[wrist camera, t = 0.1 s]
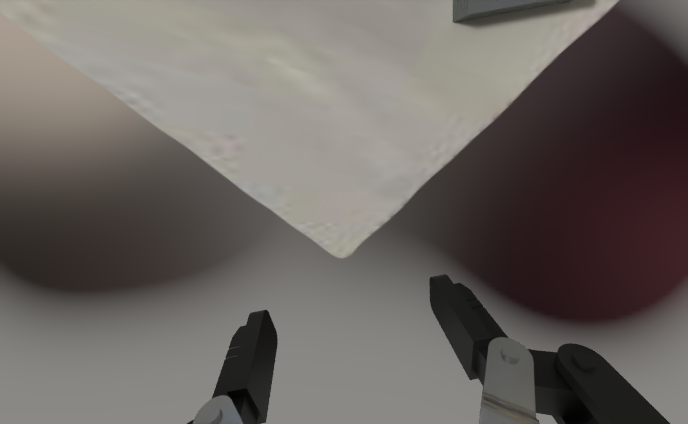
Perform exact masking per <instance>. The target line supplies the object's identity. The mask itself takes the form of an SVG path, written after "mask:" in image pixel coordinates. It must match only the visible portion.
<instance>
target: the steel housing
mask: <svg viewBox="0 0 688 424" xmlns="http://www.w3.org/2000/svg"><path fill="white" fill-rule="evenodd" d="M568 1H572V0H453V22H456V21H462V20H468V19H473V18H479V17H484V16H490V15H495V14H501V13H507V12H512V11H518V10H523V9H529V8H534V7H540V6H546V5H551V4H557V3H562V2H568Z"/></svg>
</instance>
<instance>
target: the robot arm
mask: <svg viewBox="0 0 688 424" xmlns="http://www.w3.org/2000/svg"><path fill="white" fill-rule="evenodd" d="M430 303H431V307H432V310H433V313H434V315H435V316H436V318H437V320H438V322H439V324H440V325H441V328H442V329H443V331H444V333H445V335H446V337H447V339H448V340H449V342H450V344H451V346H452V348H453V350H454V352H455V353H456V355H457V357H458V359H459V361H460V363H461V364H462V366H463V368H464V370H465V372H466V374H467V375H468V377H469V379H470V380H472V379H477V378H479V380H480V382H481V384H482V385H483V392H482V402H481V409H480V418H479V424H539V420H537V419H536V413H541V414H547V415H552V416H553V418H554V419H555V420H556V422H557V423H558V424H670V423H669V422H668V421H667V420H666V419H665V418H664V417H663V416H662V415H661V414H660V413H659V412H658V411H657V410H656V409H655V408H654V407H653V406H652V405H651V404H650V403H649V402H648V401H647V400H646V399H645V398H644V397H643V396H641V394H639V392H638V391H637V390H636V389H634V388H633V387H632V386H631V385H630V384H629V383H628V382H627V381H626V380H625V379H624V378H623V377H622V376H621V375H620V374H619V373H618V372H617V371H616V370H615V369H614V368H613V367H612V366H611V365H610V364H609V363H608V362H607V361H606V360H605V359H604V358H603V357H602V356H600V355H599V354H598V353H596V352H595V351H593V350H591V349H589V348H587V347H584V346H582V345H578V344H565V345H562V346H561V347H559V349H558V352H557V353H556V352H546V351H537V350H531V349H527V348H526V347H525V346H524V345H522V344H521V343H519V342H518V341H515V340H513V339H510V338H508V337H507V335H506V334H505V333H504V332H503V331H502V329H501V328H500V327H499V325H498V324H497V323H496V322H495V321H494V319H493V318H492V317H491V315H490V314H489V313H488V312H487V310H486V309H485V308H483V305H482V304H481V303H480V301H479V300H477V298H476V296H475V295H474V294H473V293H472V291H471V290H470V289H468V288H467V287H465V286H464V285H462V284H461V283H457V284H453V283H452V281H451V280H450V278H449V277H448V276H447V275H445V274H444V275H439V276H434V277H430ZM276 350H277V332H276V329H275V327H274V324H273V322H272V320H271V317H270V315H269V312H268V311H267V310H263V311H258V312H253V313H250V315H249V317H248V321H247V324H246V326H241V327H240V328H239V329H238V330H237V332H236V333H235V335H234V336H233V337H232V340H231V343H230V346H229V350H228V353H227V355H226V360H225V361H224V365H223V367H222V370H221V373H220V376H219V379H218V382H217V385H216V388H215V391H214V394H213V397H212V399H211V400H210V401H208V402H207V403H206V404H205V405H203V407H202V408H201V409H200V410H199V411H198V413H197V415H196V416H195V419H194V420H192V421H191V422H189V423H187V424H261V423H265V422H266V418H267V411H268V404H269V397H270V390H271V384H272V377H273V370H274V363H275V357H276Z"/></svg>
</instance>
